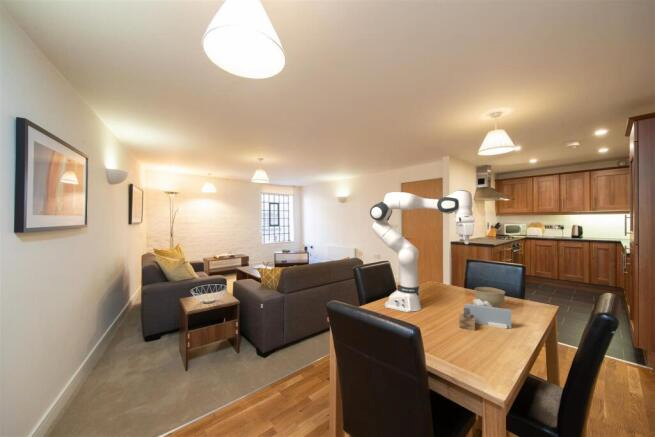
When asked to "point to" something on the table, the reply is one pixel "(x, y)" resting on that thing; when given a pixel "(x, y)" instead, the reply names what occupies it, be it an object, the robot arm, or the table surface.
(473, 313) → the wall board
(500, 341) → the table surface
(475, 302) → the wall hook
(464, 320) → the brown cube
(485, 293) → the planter bowl
